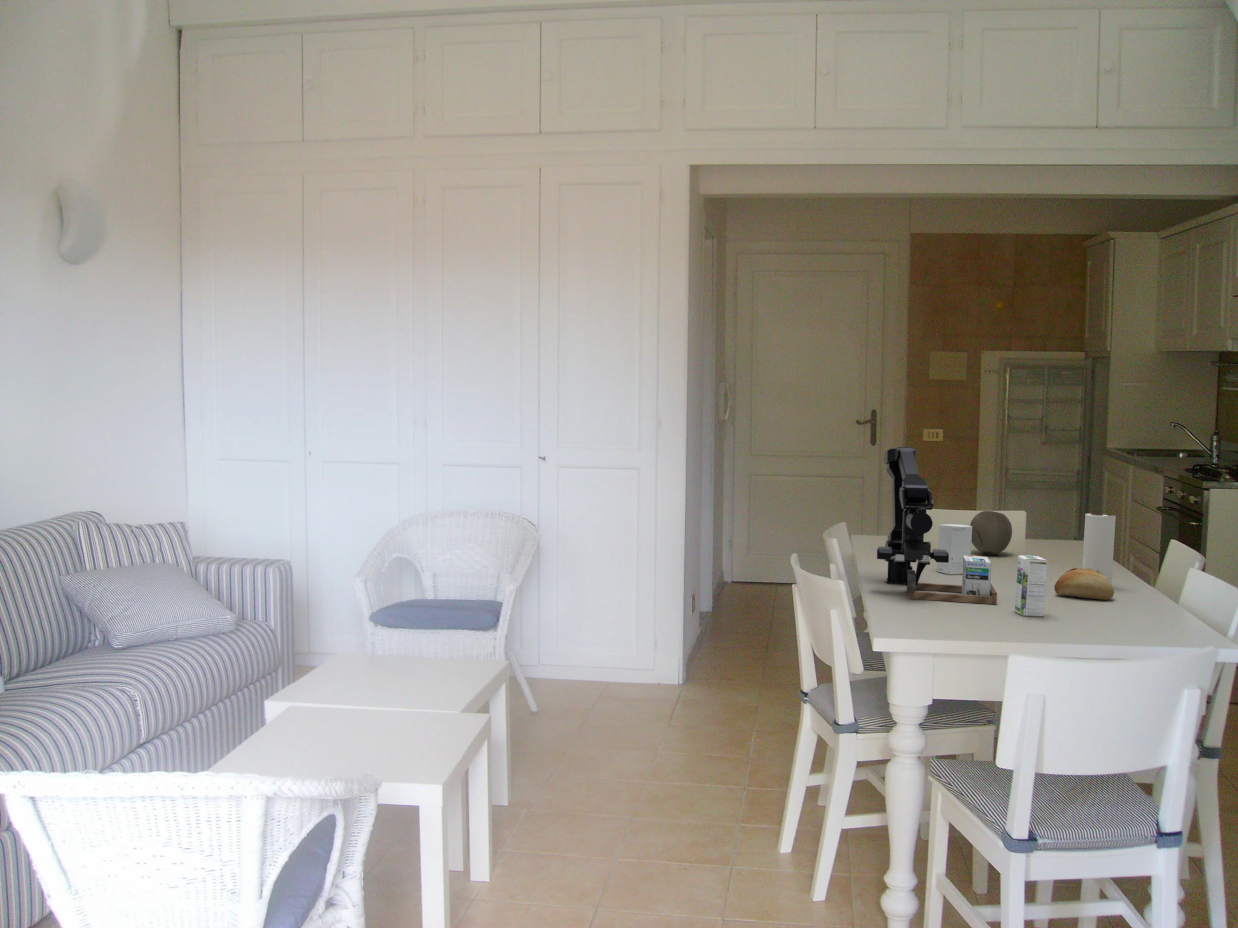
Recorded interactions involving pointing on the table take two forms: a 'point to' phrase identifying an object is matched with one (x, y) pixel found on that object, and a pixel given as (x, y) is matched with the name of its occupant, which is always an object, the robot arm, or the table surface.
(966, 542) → the skincare box
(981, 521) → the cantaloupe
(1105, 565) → the paper towel roll
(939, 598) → the brown rectangular frame
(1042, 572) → the syrup box
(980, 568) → the light bulb box
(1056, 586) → the bread roll
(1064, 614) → the table surface
